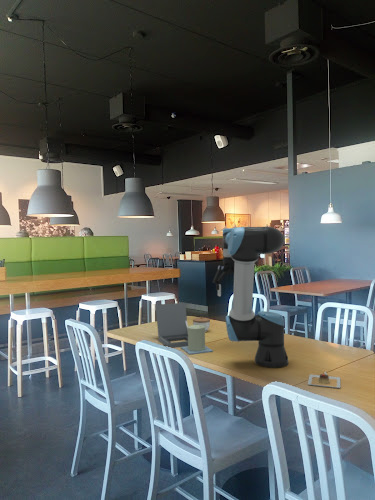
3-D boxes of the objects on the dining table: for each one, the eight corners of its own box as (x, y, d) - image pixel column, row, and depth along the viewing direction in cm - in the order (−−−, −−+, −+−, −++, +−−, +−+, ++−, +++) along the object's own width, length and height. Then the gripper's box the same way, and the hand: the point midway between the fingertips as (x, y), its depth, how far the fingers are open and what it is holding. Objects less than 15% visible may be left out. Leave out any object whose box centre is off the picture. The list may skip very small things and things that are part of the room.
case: (199, 344, 219) (198, 308, 218) (167, 348, 213) (167, 310, 212) (185, 335, 240) (184, 302, 240) (156, 338, 234) (155, 304, 234)
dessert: (307, 387, 155) (307, 374, 155) (309, 377, 167) (309, 365, 167) (340, 390, 151) (340, 378, 151) (340, 380, 162) (340, 368, 162)
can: (204, 351, 203) (203, 328, 203) (186, 350, 205) (185, 327, 205) (206, 346, 212) (206, 324, 212) (189, 346, 214) (189, 323, 214)
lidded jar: (213, 330, 252) (212, 315, 252) (204, 334, 243) (204, 318, 243) (198, 328, 258) (198, 314, 258) (189, 332, 249) (189, 317, 248)
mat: (213, 351, 205) (213, 350, 205) (189, 354, 200) (189, 353, 200) (203, 345, 217) (203, 344, 217) (180, 348, 212) (180, 347, 212)
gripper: (247, 255, 226) (247, 293, 227) (206, 257, 218) (206, 295, 218) (253, 256, 219) (254, 294, 220) (211, 257, 211) (212, 297, 211)
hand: (230, 295), depth 219 cm, fingers open, 13 cm apart
